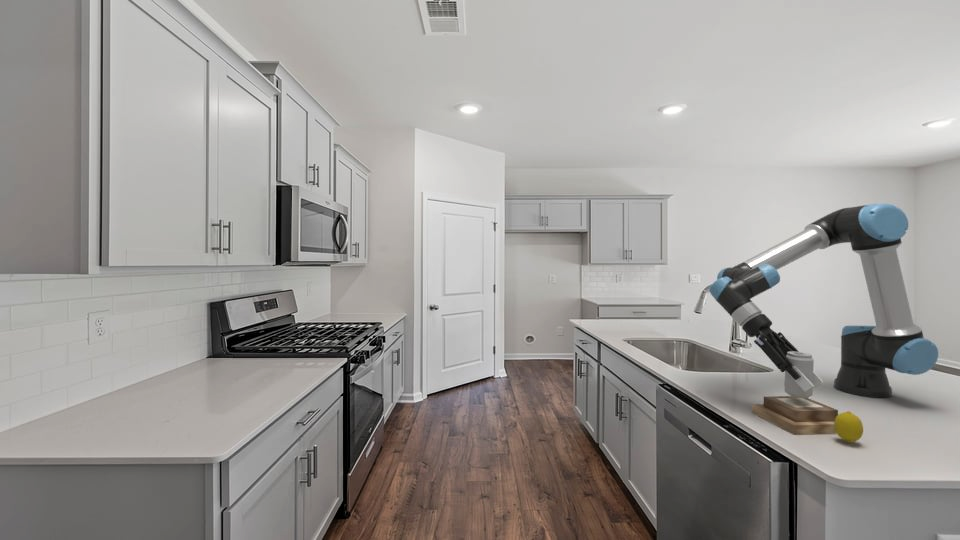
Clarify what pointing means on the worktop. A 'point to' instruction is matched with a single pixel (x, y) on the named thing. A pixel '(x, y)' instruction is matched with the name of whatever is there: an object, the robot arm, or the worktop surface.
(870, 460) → the worktop surface
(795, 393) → the beverage can
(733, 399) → the worktop surface
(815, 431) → the pedestal
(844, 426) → the lemon
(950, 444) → the worktop surface
